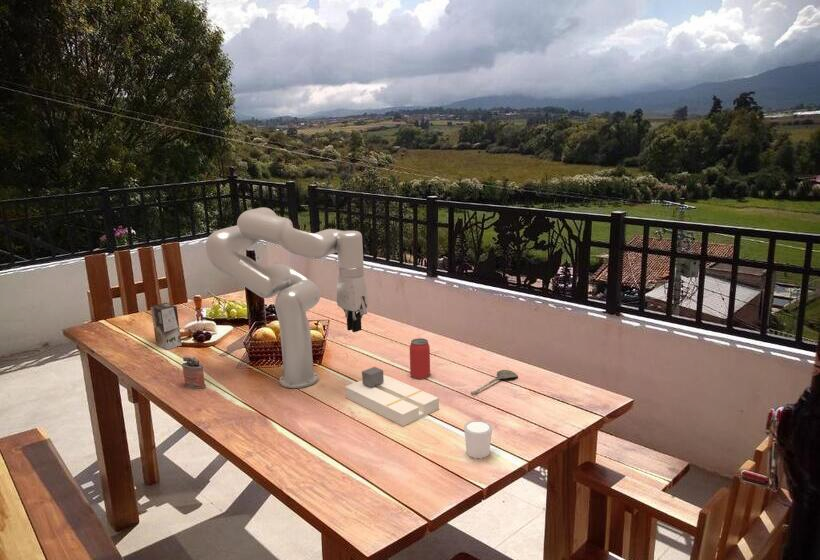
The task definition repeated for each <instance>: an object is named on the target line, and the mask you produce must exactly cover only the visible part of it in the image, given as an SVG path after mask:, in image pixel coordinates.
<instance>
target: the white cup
mask: <svg viewBox="0 0 820 560" xmlns="http://www.w3.org/2000/svg"><path fill="white" fill-rule="evenodd" d="M463 430H464V431H463V432H464V439H465V440H464V441H465V448H466V454H467V456H468V455H469V457H470V456H471V458H472V457H474V458H473V459H477V458H481V459H484V458H483V457H485V458H487V457H489V455H490V450H491V444H492V443H491V440H492V431H493V427H492V425H491V423H489V422H487V421H485V420H470V421H468V422H466V423H465V424H464V427H463ZM486 456H487V457H486Z"/></svg>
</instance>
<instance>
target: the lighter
mask: <svg viewBox="0 0 820 560" xmlns="http://www.w3.org/2000/svg"><path fill="white" fill-rule="evenodd" d="M182 360H183V363H182V364H181V368H182V371H183V378H184V384H183V385H184V388H187V389H190V388H192V389H191V390H197V389H202V390H204V388H205V389H206V388H207V385H206V383H205V382H206V381H205V374H204V364H201V363H200V359H198V358H196V357H195V356H193V357H191V356H183V357H182Z"/></svg>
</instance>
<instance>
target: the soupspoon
mask: <svg viewBox="0 0 820 560" xmlns="http://www.w3.org/2000/svg"><path fill="white" fill-rule="evenodd" d="M496 376H497V377H496V378H494V379H492V380H490V381H489V382H487V383H485V384H484V385H482V386H481V387H479V388H477V389H476V390H473V391H470V395H471V394H472V395H471V396H473V395H475V394H476V395H477V394H478V393H479V392H480V391H481V390H483V389H485V388H486V387H488V386H490V385H492V384H493V383H495V382H497V381H499V380H501V379H502V380H503V379H509V378H510V379H511V378H518V377H519V375H518V374H517V373H516V372H514V371H512V370H509V369H501V370H497V372H496ZM476 395H475V396H476Z"/></svg>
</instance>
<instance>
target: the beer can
mask: <svg viewBox="0 0 820 560" xmlns="http://www.w3.org/2000/svg"><path fill="white" fill-rule="evenodd" d="M430 351H431V349H430V344H429V340H428V339H427V338H426V339H425V338H420V337H419V338H413V339H411V341H410V345H409V366H410V367H409V369H410V371H409V373H410V374H409V375H410V376H411V378H413V379H417V380H418V379H419V380H423V378H424V379H427V378H429V377H430V376H431V352H430Z"/></svg>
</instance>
